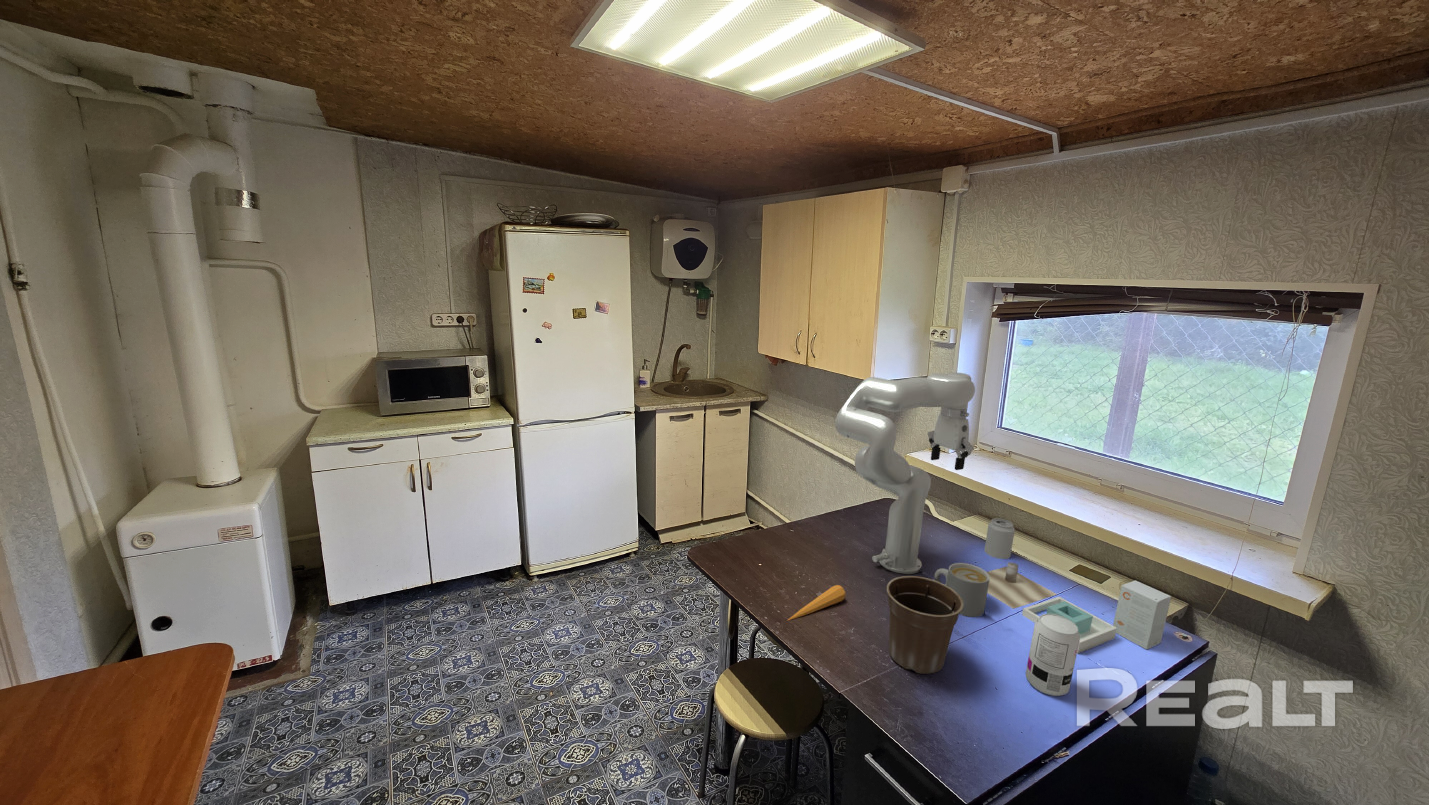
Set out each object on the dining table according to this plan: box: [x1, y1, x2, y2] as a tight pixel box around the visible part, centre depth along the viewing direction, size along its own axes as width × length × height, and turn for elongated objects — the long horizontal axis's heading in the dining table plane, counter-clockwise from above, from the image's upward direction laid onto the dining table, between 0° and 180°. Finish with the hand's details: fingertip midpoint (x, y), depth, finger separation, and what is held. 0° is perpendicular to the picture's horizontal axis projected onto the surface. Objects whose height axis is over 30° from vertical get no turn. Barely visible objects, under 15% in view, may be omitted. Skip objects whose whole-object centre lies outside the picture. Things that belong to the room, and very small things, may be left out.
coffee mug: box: [933, 562, 990, 618], centre depth 147 cm, size 13×10×10 cm
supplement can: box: [1025, 613, 1080, 697], centre depth 117 cm, size 8×8×15 cm
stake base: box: [986, 561, 1058, 610], centre depth 155 cm, size 18×16×6 cm
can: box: [983, 517, 1016, 560], centre depth 173 cm, size 8×8×12 cm
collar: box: [1045, 601, 1093, 634], centre depth 138 cm, size 7×8×4 cm
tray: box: [1021, 596, 1117, 655], centre depth 138 cm, size 15×15×3 cm
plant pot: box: [886, 575, 963, 675], centre depth 125 cm, size 16×16×16 cm
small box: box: [1112, 580, 1172, 650], centre depth 135 cm, size 8×6×13 cm
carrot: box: [786, 584, 846, 621], centre depth 143 cm, size 20×4×4 cm, turn 124°
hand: (946, 464), depth 174 cm, fingers open, 9 cm apart
